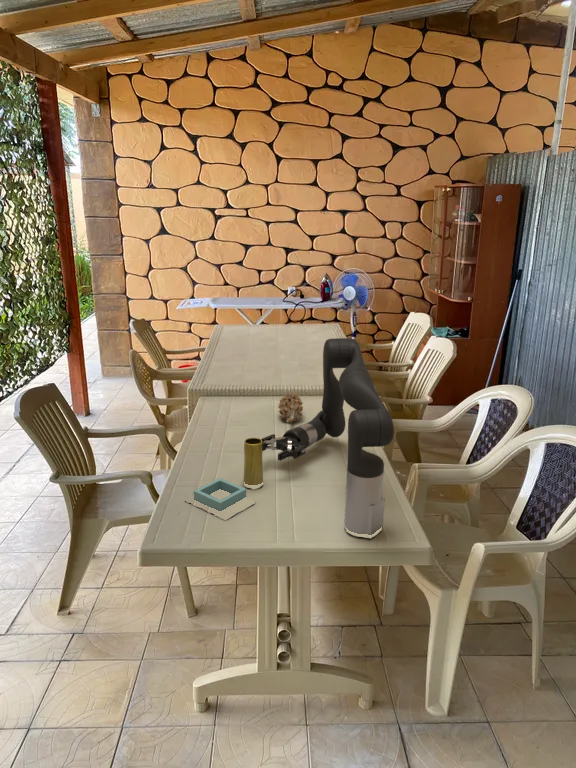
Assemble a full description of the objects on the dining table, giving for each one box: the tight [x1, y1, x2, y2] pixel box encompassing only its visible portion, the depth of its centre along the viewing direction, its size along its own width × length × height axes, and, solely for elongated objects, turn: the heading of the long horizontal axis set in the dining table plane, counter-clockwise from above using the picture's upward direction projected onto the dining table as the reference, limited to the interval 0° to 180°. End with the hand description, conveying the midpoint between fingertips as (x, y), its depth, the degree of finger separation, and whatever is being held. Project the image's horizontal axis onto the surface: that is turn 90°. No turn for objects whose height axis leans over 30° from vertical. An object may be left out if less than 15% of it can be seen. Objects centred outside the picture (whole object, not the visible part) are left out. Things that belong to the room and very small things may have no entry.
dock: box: [193, 477, 247, 511], centre depth 172 cm, size 16×12×4 cm
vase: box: [243, 437, 264, 485], centre depth 181 cm, size 6×6×14 cm
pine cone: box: [277, 391, 304, 423], centre depth 229 cm, size 22×10×10 cm, turn 3°
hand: (267, 453), depth 186 cm, fingers open, 8 cm apart
